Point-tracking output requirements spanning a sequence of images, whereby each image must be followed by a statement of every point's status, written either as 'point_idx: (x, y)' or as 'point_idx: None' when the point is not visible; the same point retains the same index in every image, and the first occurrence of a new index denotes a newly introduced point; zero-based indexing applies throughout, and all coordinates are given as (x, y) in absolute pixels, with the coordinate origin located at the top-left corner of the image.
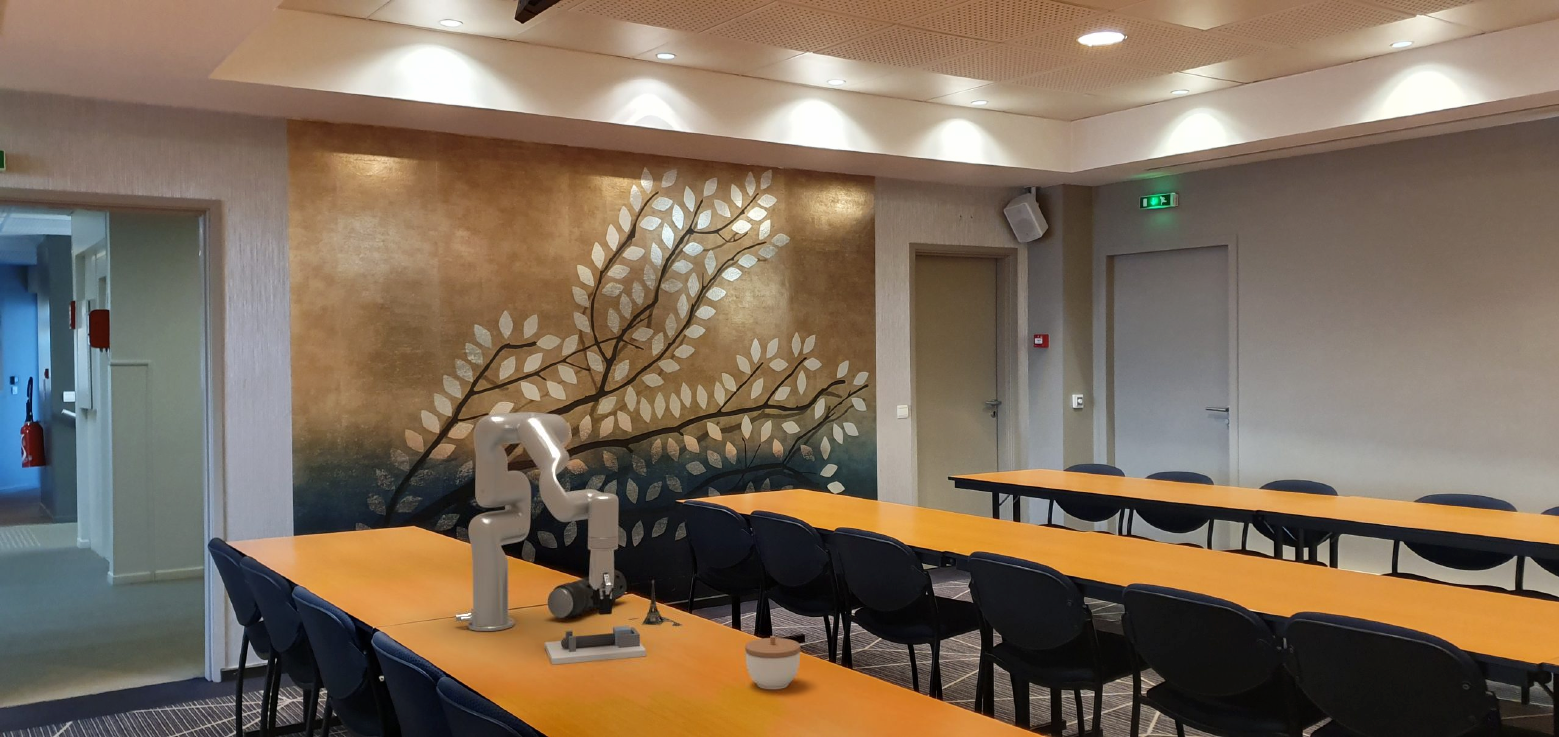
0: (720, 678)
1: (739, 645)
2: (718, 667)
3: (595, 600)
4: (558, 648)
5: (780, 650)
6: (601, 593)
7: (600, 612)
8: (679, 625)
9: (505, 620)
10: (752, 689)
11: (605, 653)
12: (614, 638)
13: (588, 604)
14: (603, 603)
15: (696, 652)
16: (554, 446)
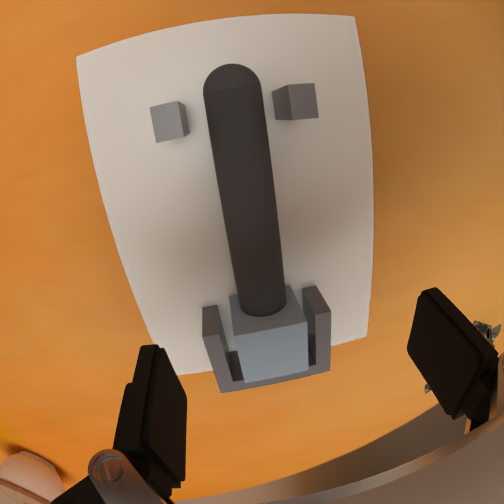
0: (37, 434)
1: (240, 473)
2: (93, 447)
3: (432, 321)
4: (237, 58)
5: (7, 496)
6: (106, 497)
7: (141, 359)
8: (426, 388)
9: None
10: (11, 442)
11: (125, 262)
12: (241, 307)
13: None
14: (118, 429)
15: (197, 438)
16: None
